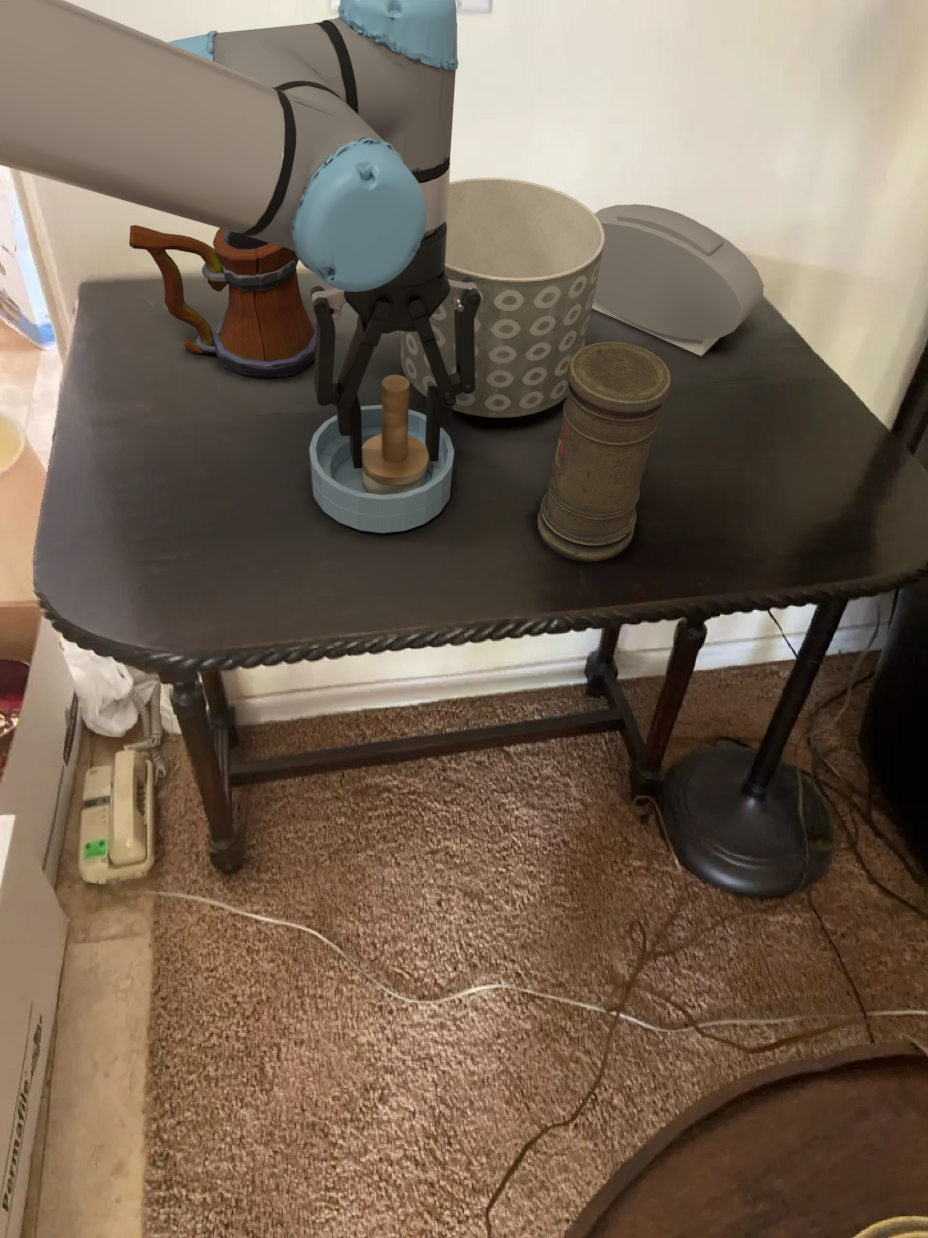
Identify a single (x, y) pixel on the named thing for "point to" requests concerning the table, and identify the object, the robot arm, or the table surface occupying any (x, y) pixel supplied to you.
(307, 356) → the mug
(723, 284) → the alarm clock
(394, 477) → the brush
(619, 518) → the container
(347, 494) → the bowl
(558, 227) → the planter
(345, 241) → the robot arm
